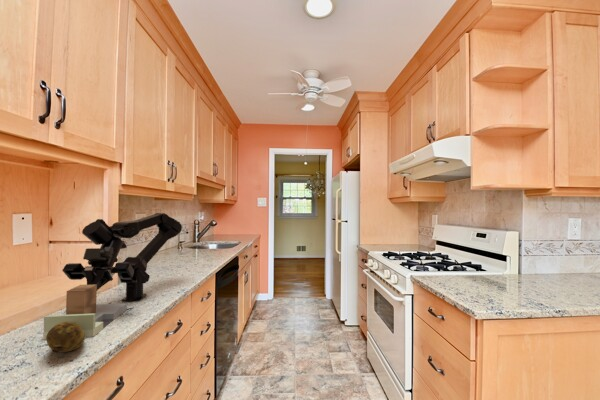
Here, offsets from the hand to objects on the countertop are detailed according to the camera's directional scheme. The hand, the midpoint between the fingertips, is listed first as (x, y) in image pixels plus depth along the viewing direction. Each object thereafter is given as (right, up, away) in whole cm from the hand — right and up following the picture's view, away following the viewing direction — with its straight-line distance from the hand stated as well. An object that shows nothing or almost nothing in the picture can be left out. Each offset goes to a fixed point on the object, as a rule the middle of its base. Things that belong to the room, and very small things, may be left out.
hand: (88, 295), depth 83 cm
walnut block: (0, -7, -3) cm, 7 cm away
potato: (+6, -9, -15) cm, 18 cm away
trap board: (0, -9, +1) cm, 9 cm away
